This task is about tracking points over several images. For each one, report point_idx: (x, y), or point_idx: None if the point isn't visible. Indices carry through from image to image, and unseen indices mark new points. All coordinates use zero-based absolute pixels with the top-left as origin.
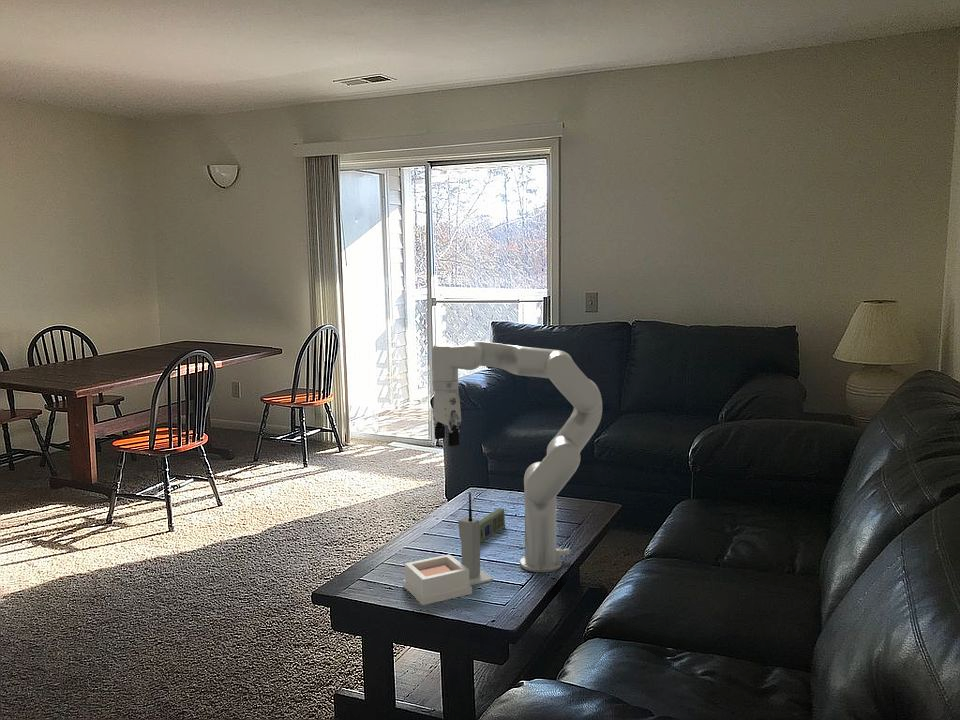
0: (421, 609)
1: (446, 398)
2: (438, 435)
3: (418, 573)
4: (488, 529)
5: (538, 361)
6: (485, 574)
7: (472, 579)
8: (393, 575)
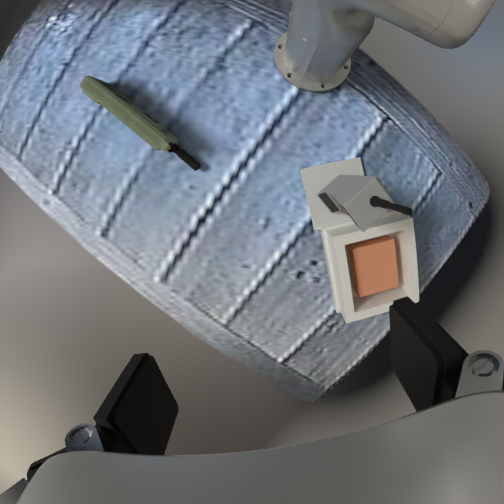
0: None
1: None
2: (165, 412)
3: None
4: (146, 114)
5: None
6: (339, 165)
7: None
8: (285, 316)
